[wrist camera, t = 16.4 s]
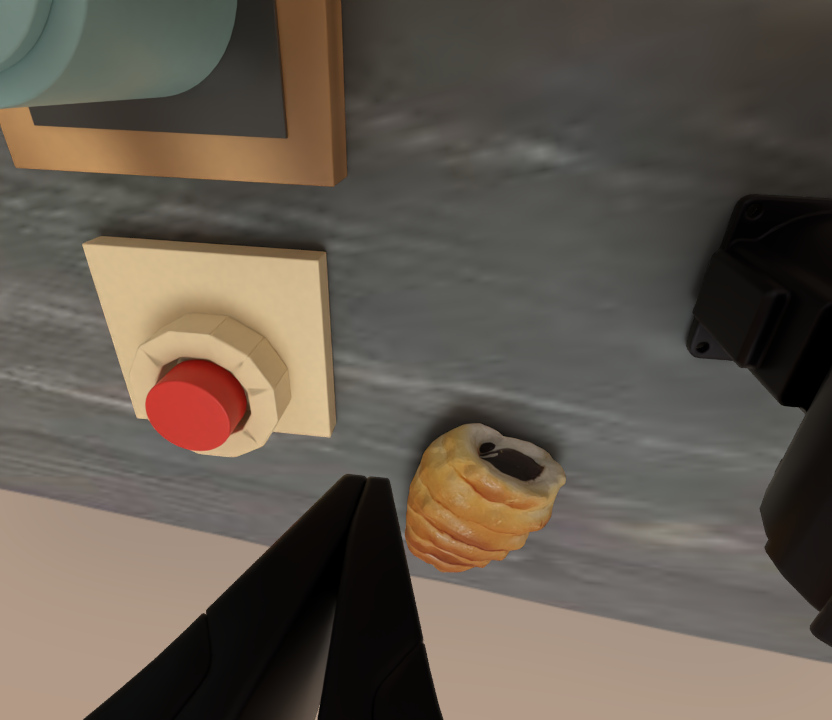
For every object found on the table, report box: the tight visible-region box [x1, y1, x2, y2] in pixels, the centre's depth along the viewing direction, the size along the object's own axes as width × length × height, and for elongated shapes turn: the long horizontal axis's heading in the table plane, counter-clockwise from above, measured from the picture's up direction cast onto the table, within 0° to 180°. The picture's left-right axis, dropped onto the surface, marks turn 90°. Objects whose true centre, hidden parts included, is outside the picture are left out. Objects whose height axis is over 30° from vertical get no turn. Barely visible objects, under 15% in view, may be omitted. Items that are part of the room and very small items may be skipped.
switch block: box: [82, 236, 336, 457], centre depth 22 cm, size 10×9×3 cm
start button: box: [145, 360, 247, 451], centre depth 21 cm, size 4×4×2 cm
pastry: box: [405, 423, 566, 572], centre depth 25 cm, size 9×7×4 cm
